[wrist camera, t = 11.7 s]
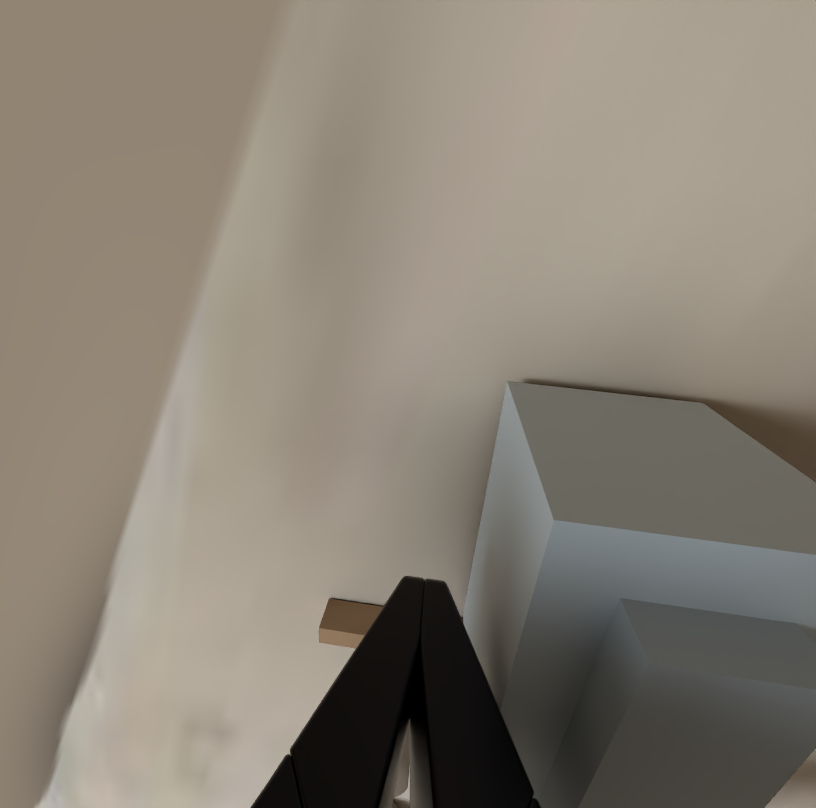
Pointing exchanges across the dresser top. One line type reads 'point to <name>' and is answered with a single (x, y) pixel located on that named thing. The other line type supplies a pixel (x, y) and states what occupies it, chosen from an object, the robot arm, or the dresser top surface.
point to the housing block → (645, 602)
